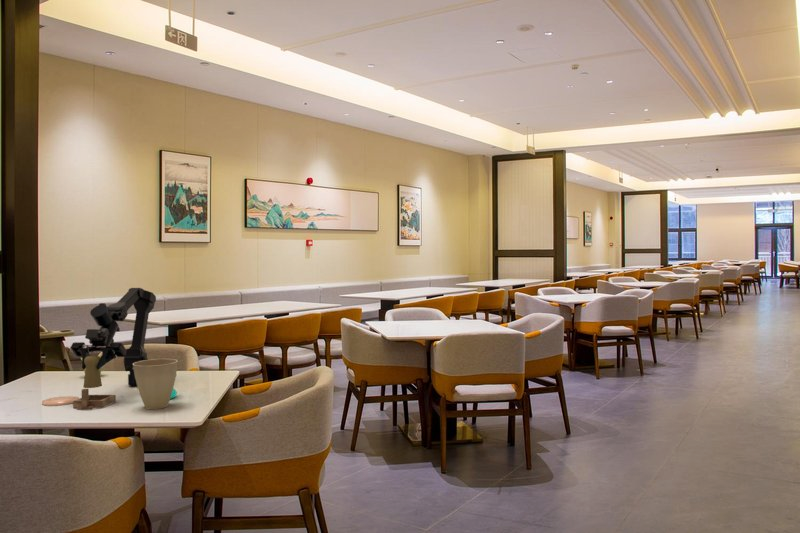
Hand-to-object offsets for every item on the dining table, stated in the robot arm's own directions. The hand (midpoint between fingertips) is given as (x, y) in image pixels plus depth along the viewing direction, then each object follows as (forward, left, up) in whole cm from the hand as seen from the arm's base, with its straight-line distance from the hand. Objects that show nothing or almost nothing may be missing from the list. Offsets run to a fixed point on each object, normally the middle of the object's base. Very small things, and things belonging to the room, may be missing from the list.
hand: (90, 368), depth 224 cm
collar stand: (-1, 0, -13) cm, 13 cm away
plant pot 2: (-20, +13, -13) cm, 28 cm away
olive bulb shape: (-1, -1, -7) cm, 7 cm away
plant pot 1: (-2, -61, -13) cm, 62 cm away
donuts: (-24, -1, -13) cm, 28 cm away
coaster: (+10, -12, -13) cm, 20 cm away
